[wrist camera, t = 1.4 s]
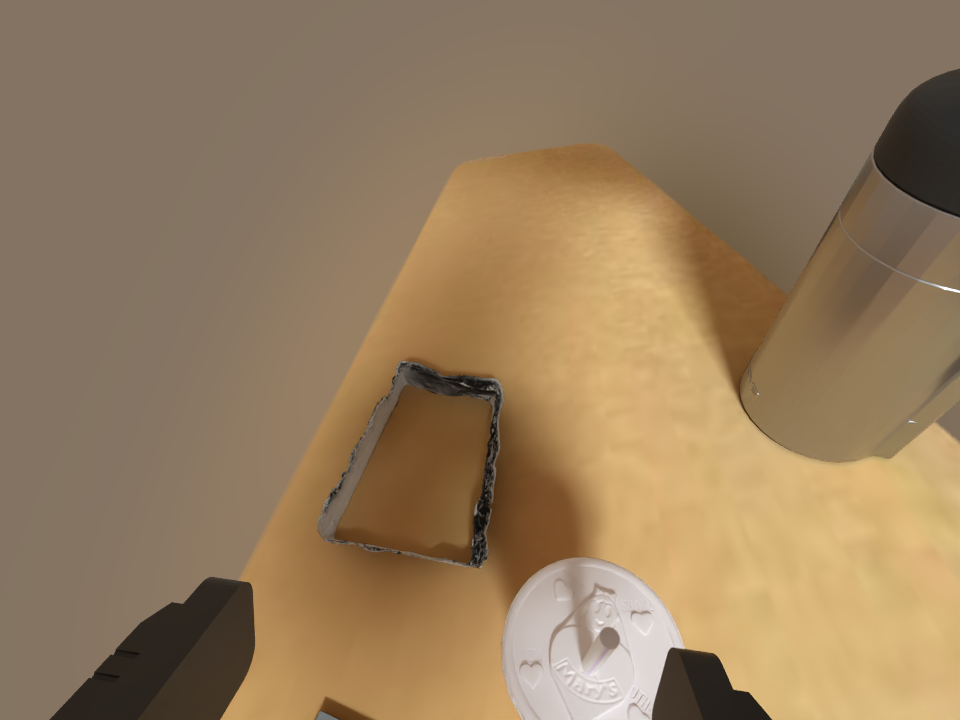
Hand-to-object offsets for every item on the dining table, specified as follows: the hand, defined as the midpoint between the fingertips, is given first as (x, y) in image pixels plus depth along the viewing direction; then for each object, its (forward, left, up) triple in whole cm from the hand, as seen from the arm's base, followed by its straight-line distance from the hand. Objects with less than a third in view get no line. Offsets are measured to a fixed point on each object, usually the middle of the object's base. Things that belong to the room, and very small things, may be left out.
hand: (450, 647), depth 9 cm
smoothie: (-3, -3, -19) cm, 19 cm away
